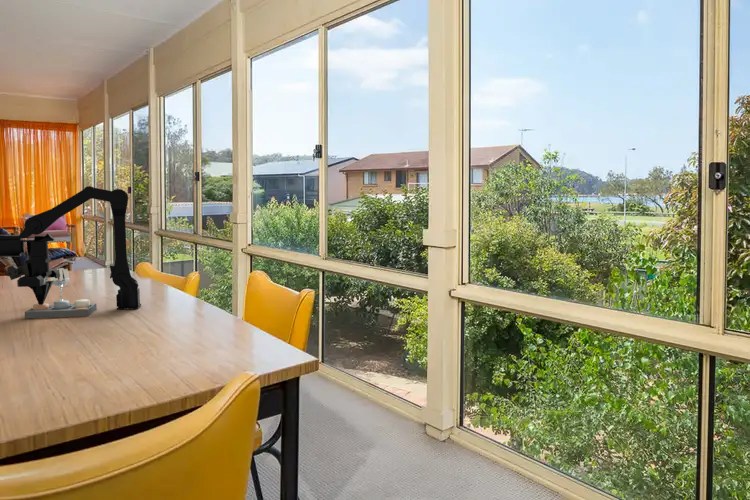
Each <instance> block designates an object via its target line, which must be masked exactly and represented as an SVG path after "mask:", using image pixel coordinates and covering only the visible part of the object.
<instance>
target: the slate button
mask: <svg viewBox="0 0 750 500" xmlns="http://www.w3.org/2000/svg"><path fill="white" fill-rule="evenodd" d="M69 304H70V300H69V299H63V300H60V299H59V300H55V301H53V305H54V309H68V308H70V305H69Z"/></svg>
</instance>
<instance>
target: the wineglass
mask: <svg viewBox="0 0 750 500" xmlns="http://www.w3.org/2000/svg"><path fill="white" fill-rule="evenodd" d="M55 269H57V270H58V271H59V273H60V277H59V278H55V277H50V281H54V282H53V283H52V285H53V286H54V287H57V288H59V289H58V290H59V295H60V299H59V300H64V299H63V287H65V286H67V285H68V284H69V283H70V273H69V269H68V268H67V267H59V268H57V267H56V268H55Z"/></svg>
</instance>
